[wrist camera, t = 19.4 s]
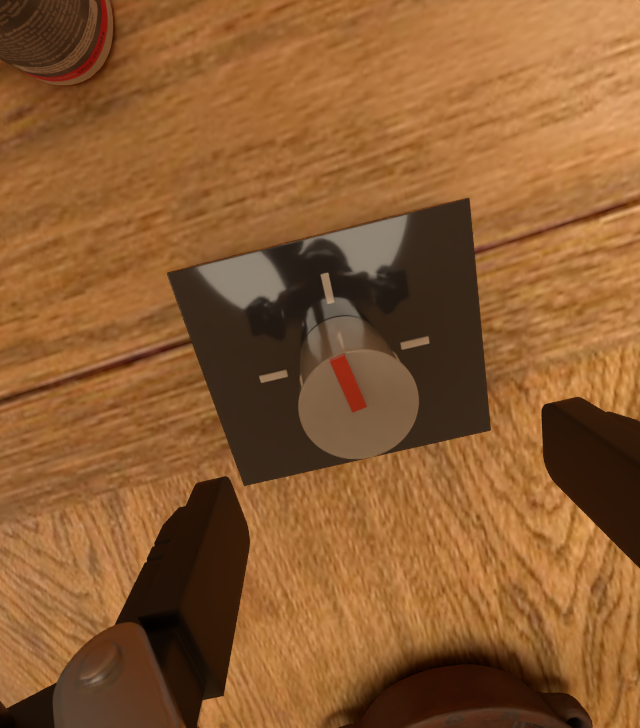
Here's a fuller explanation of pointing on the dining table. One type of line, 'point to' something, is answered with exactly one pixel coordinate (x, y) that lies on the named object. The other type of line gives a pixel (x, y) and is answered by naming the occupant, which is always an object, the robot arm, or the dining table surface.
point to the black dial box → (329, 300)
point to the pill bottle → (56, 38)
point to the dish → (470, 702)
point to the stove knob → (354, 390)
